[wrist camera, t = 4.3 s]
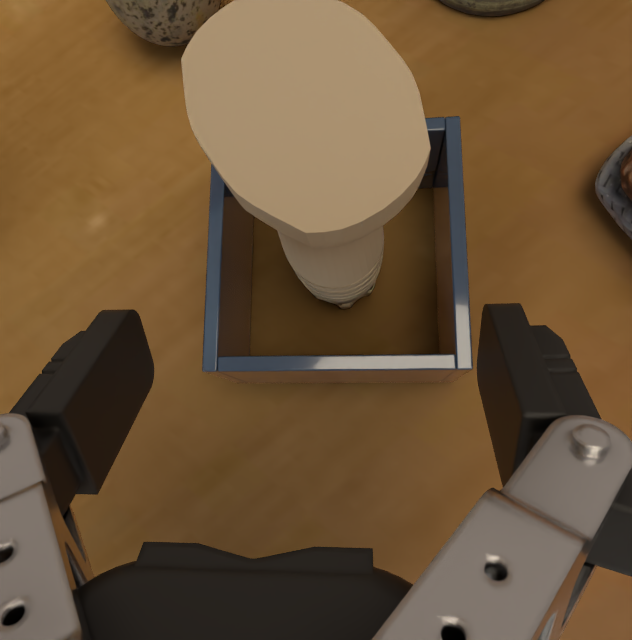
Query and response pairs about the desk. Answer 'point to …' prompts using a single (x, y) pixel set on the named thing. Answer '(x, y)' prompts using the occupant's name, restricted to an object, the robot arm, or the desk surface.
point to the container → (491, 6)
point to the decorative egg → (164, 18)
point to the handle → (309, 131)
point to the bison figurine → (617, 185)
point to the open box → (238, 366)
